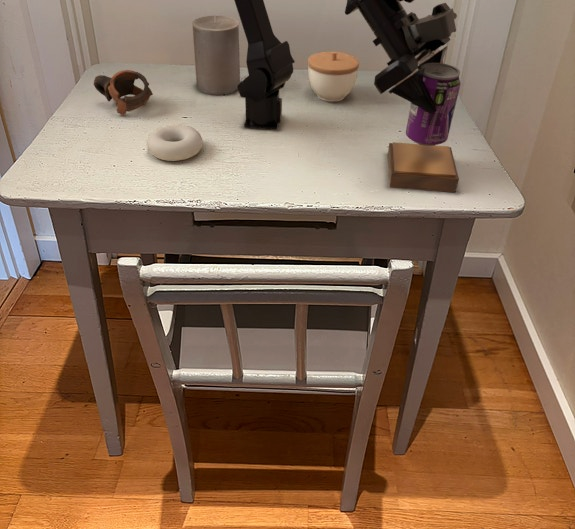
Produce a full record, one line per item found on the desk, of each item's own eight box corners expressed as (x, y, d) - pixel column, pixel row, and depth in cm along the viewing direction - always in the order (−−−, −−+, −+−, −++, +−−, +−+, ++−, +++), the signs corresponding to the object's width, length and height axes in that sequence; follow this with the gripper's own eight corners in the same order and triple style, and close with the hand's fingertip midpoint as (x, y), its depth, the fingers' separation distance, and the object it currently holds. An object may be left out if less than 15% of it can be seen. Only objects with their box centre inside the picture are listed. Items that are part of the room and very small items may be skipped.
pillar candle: (193, 80, 129) (188, 10, 119) (236, 76, 131) (233, 7, 121) (200, 97, 121) (195, 24, 112) (245, 93, 124) (243, 21, 114)
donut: (141, 145, 105) (157, 169, 98) (138, 127, 103) (154, 151, 96) (192, 134, 109) (211, 157, 102) (190, 117, 106) (210, 139, 99)
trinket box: (337, 82, 129) (341, 40, 123) (365, 100, 122) (370, 56, 116) (297, 91, 125) (298, 48, 119) (323, 110, 118) (326, 65, 112)
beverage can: (439, 153, 93) (455, 82, 85) (398, 141, 96) (411, 72, 88) (451, 136, 98) (468, 67, 90) (412, 125, 101) (426, 58, 93)
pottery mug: (156, 97, 122) (157, 72, 114) (145, 133, 118) (145, 109, 111) (100, 81, 120) (97, 54, 113) (86, 116, 116) (82, 91, 109)
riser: (389, 187, 95) (392, 171, 93) (387, 155, 104) (389, 140, 102) (455, 192, 95) (459, 176, 93) (448, 159, 103) (451, 145, 101)
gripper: (406, 2, 77) (466, 99, 80) (450, -25, 89) (501, 60, 92) (348, 49, 85) (405, 135, 88) (396, 17, 97) (444, 94, 100)
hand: (441, 104), depth 92 cm, fingers closed on beverage can, 7 cm apart
